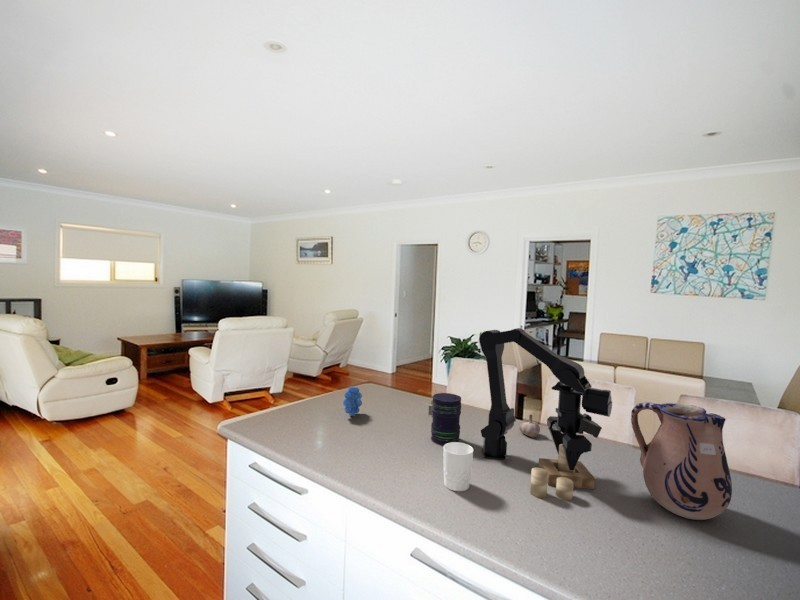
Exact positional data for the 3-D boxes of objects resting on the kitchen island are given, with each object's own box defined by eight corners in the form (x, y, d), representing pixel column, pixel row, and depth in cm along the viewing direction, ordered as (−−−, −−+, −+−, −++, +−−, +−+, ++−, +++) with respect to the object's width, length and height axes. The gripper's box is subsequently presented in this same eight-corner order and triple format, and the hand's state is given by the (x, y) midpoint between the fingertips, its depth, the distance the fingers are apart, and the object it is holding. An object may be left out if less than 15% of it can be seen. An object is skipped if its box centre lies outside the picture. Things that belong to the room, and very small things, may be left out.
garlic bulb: (537, 440, 137) (538, 418, 137) (516, 435, 141) (517, 413, 141) (541, 433, 144) (542, 412, 143) (521, 429, 147) (522, 408, 147)
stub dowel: (558, 499, 99) (559, 484, 99) (553, 491, 103) (554, 476, 103) (574, 501, 98) (575, 485, 98) (569, 492, 102) (570, 477, 102)
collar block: (548, 485, 106) (549, 474, 106) (538, 468, 116) (538, 458, 116) (594, 488, 105) (594, 478, 105) (579, 471, 115) (580, 461, 115)
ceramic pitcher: (736, 542, 85) (745, 428, 84) (624, 509, 96) (631, 408, 95) (722, 505, 99) (730, 408, 98) (626, 480, 111) (632, 393, 110)
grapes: (352, 422, 147) (354, 390, 146) (338, 418, 150) (339, 388, 149) (369, 413, 157) (370, 384, 157) (355, 410, 160) (356, 381, 160)
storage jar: (426, 442, 131) (428, 398, 130) (435, 432, 140) (437, 391, 140) (455, 448, 127) (457, 403, 127) (462, 437, 136) (464, 395, 136)
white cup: (453, 495, 98) (454, 456, 98) (436, 481, 105) (437, 444, 105) (477, 489, 102) (479, 451, 102) (459, 475, 109) (461, 440, 109)
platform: (426, 408, 168) (427, 393, 168) (464, 418, 158) (465, 402, 158) (411, 415, 158) (412, 399, 158) (450, 426, 148) (451, 409, 148)
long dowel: (559, 481, 108) (561, 449, 108) (555, 474, 112) (557, 443, 112) (574, 482, 108) (576, 450, 108) (569, 475, 112) (571, 444, 112)
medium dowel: (532, 497, 99) (533, 474, 99) (528, 489, 103) (529, 467, 103) (548, 498, 99) (549, 475, 99) (544, 490, 103) (545, 468, 103)
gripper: (614, 421, 100) (610, 481, 100) (585, 400, 118) (582, 450, 119) (569, 418, 100) (565, 477, 101) (547, 397, 119) (544, 447, 120)
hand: (565, 462), depth 110 cm, fingers open, 9 cm apart
